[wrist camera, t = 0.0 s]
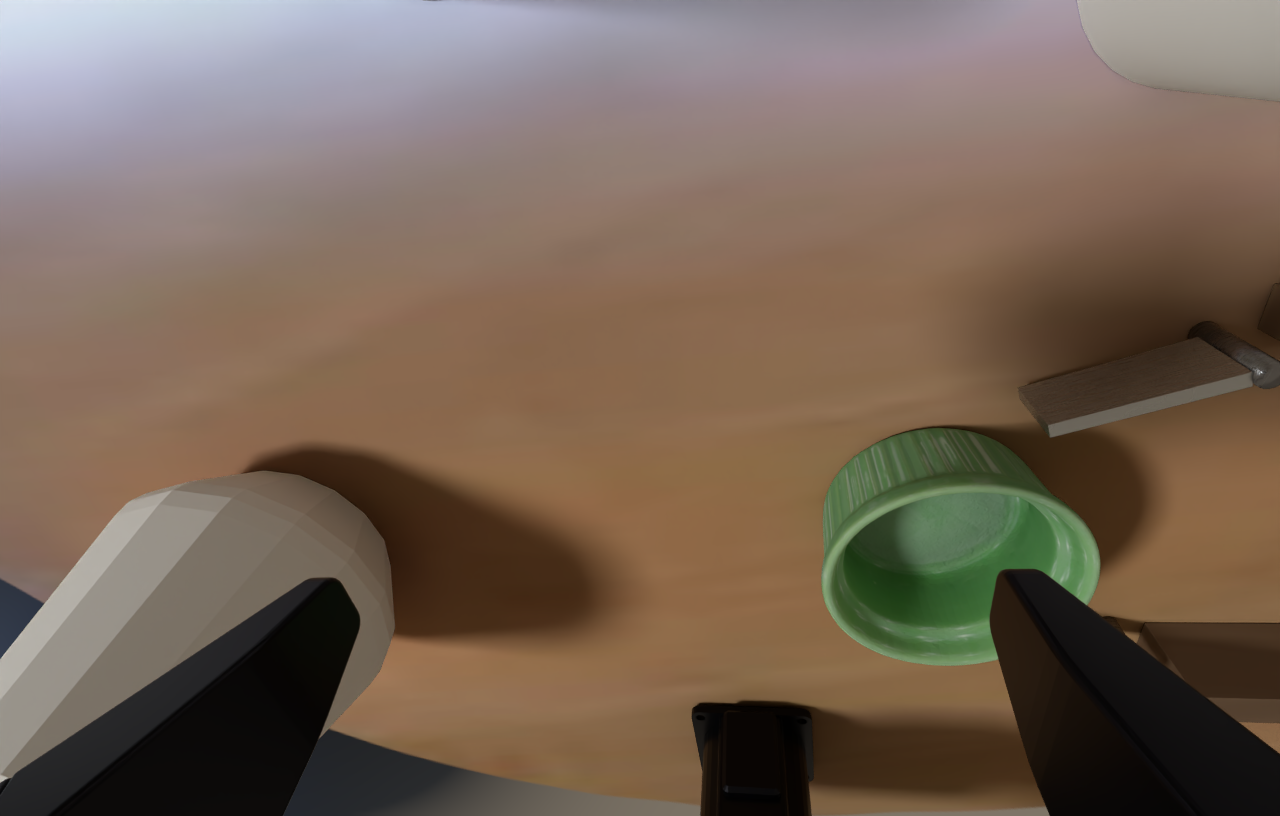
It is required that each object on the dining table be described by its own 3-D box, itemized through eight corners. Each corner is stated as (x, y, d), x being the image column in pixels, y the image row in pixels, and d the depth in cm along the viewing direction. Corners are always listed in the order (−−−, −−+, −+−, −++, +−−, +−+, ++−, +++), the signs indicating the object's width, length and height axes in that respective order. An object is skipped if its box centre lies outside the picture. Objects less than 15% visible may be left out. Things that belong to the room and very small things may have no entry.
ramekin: (765, 508, 26) (770, 586, 22) (937, 368, 21) (979, 436, 18) (910, 609, 28) (936, 697, 24) (1095, 499, 23) (1163, 586, 20)
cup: (423, 651, 35) (262, 963, 23) (200, 589, 35) (-76, 871, 23) (435, 480, 28) (210, 806, 16) (155, 401, 27) (-284, 669, 16)
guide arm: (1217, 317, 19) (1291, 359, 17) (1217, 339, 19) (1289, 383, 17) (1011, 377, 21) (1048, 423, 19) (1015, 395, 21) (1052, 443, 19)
